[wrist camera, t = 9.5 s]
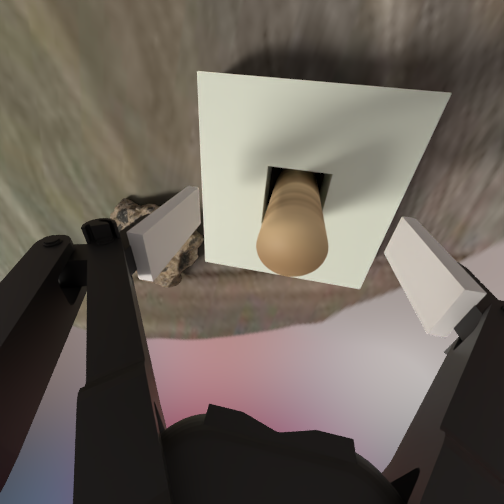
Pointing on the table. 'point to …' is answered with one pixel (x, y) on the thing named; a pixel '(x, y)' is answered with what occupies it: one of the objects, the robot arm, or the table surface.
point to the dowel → (293, 226)
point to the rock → (182, 259)
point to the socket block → (309, 161)
